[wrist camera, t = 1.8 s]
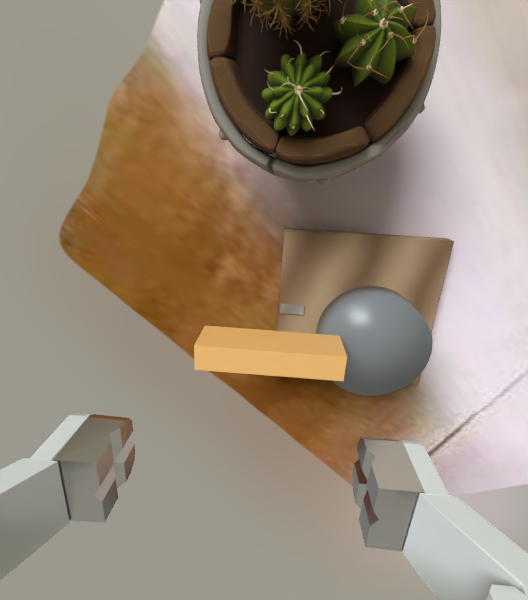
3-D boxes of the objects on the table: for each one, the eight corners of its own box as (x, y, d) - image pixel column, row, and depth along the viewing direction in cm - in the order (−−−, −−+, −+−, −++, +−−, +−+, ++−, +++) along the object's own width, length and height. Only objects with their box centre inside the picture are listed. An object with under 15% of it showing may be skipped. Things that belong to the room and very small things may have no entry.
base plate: (446, 238, 33) (454, 241, 32) (413, 378, 39) (418, 386, 37) (284, 228, 34) (284, 230, 32) (273, 367, 39) (273, 375, 38)
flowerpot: (421, 120, 30) (649, 27, 11) (271, 209, 33) (255, 251, 15) (350, -61, 26) (518, -663, 7) (188, 60, 30) (21, -145, 11)
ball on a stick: (428, 289, 29) (467, 319, 23) (407, 380, 32) (436, 428, 26) (212, 274, 29) (193, 300, 23) (212, 365, 32) (195, 408, 26)
